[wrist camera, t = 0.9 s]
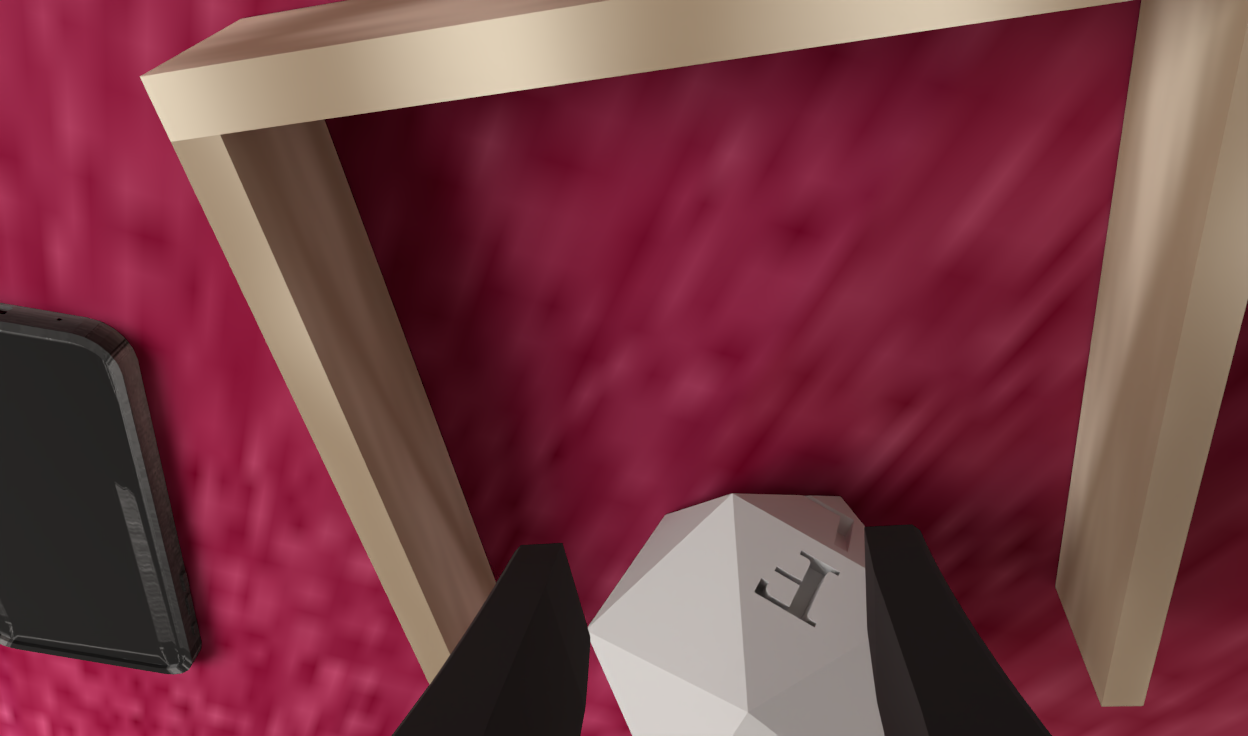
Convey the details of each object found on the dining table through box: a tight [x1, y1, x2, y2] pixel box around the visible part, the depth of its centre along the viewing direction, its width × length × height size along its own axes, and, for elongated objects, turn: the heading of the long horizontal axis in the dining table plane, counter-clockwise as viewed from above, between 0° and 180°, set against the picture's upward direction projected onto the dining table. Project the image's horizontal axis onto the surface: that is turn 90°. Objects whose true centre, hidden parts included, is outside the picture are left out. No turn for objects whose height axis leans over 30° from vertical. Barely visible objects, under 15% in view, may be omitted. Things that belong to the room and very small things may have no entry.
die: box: [588, 493, 885, 736], centre depth 23 cm, size 8×9×10 cm
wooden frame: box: [140, 0, 1248, 706], centre depth 21 cm, size 19×19×4 cm
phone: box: [0, 303, 202, 674], centre depth 28 cm, size 8×1×15 cm
